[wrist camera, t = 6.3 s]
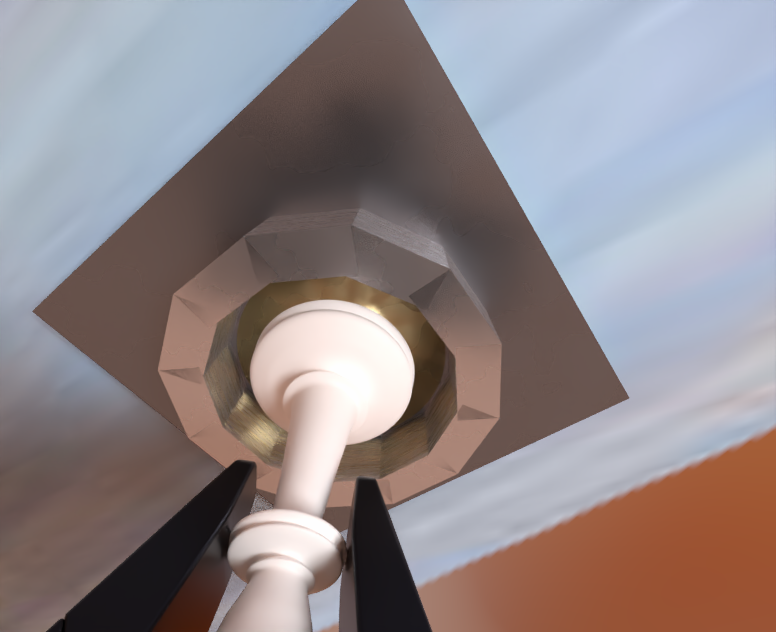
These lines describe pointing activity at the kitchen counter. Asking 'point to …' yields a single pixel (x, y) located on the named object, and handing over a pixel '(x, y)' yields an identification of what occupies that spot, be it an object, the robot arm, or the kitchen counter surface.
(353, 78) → the hub plate
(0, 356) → the kitchen counter surface
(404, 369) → the chess piece
